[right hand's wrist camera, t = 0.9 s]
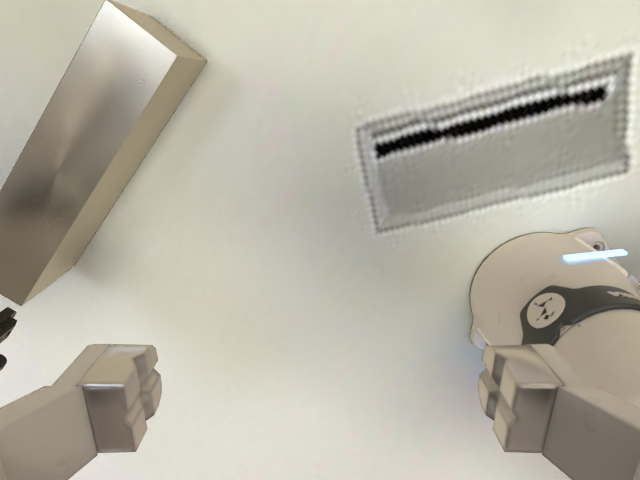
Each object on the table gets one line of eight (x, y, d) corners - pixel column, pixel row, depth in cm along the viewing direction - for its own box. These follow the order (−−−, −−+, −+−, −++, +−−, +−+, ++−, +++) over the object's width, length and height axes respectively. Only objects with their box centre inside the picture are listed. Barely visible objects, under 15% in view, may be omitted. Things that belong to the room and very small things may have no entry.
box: (151, 16, 40) (105, -3, 31) (207, 60, 41) (178, 55, 33) (22, 235, 47) (-43, 269, 39) (73, 267, 49) (21, 306, 40)
